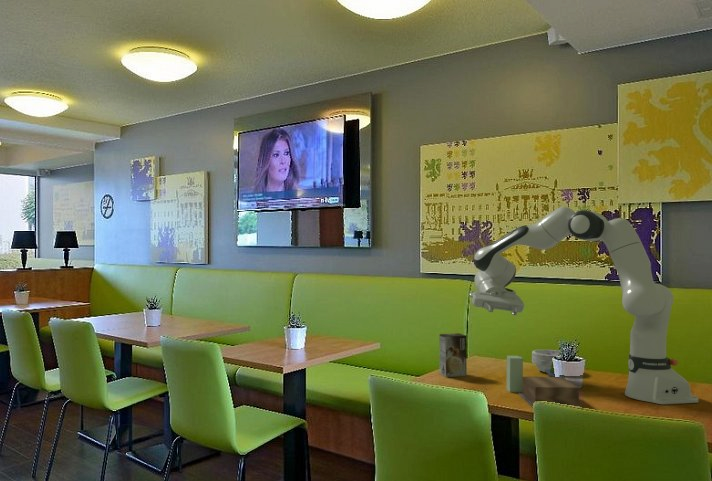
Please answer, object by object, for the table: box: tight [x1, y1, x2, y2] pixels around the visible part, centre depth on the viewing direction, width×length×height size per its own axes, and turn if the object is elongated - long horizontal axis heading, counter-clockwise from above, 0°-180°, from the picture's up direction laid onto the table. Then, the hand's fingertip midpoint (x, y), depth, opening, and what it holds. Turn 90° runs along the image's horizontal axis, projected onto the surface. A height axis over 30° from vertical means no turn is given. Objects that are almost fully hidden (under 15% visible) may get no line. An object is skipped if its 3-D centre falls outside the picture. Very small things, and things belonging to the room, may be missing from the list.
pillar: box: [505, 355, 524, 393], centre depth 201 cm, size 4×4×12 cm
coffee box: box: [439, 332, 468, 378], centre depth 224 cm, size 9×6×16 cm
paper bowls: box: [531, 349, 560, 374], centre depth 233 cm, size 15×15×8 cm
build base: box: [518, 376, 583, 407], centre depth 188 cm, size 16×16×6 cm
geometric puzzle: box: [544, 363, 555, 377], centre depth 216 cm, size 7×7×8 cm
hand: (503, 312), depth 214 cm, fingers open, 8 cm apart
